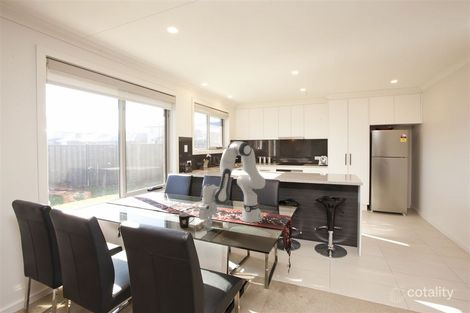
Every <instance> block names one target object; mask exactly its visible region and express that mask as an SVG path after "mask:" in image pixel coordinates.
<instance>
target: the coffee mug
mask: <svg viewBox="0 0 470 313" xmlns="http://www.w3.org/2000/svg"><path fill="white" fill-rule="evenodd" d="M190 218H193V219H192V220H191V221H190ZM194 220H195V216H194V215H191V214H190V213H188V212H181V213H179V214H178V222H179V227H180V229H189V225H190V223H192V222H193V221H194Z"/></svg>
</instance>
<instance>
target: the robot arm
mask: <svg viewBox="0 0 470 313" xmlns="http://www.w3.org/2000/svg"><path fill="white" fill-rule="evenodd" d="M237 156H241V161H242V170H243V171H244V173H246V174H240V175H239V176H238V177H237V178H236V184H237V186H239V187H240V189H241V190H242V193H243V197H244V198H243V200H244V201H243V208H242V209H241V210H242V211H241V213H242V214H241V217H240V219H241V220H242V221H243V222H244V223H250V224H251V223H252V224H253V222H254V223H261V222H262V220H263V219H262V218H264V215H262V211H261V209H260V208H259V205H260V203H259V202H258V194H257V193H256V192H255V191H253V189H255V190H261V189H264V188H265V186H266V179H265V178H264V177H263V175H261V174H260V173H259V171H258V168H257V161H256V155H255V150H254V149H253V148H252V146H251V144H249V143H248V142H245V141H241V140H240V141H238V140H233V141H230V142H229V144H228V146H227V147H226V148H224V150H223V152H222V155H221V157H220V163H219V171H220V175H221V177H220V178H221V179H220V183H219V186H217V185H215V184H213V183H206V184H204V185H203V188H202V198H203V199H202V202H201V203H200V205H199V206H198V218H199V220H201V221H204V219H205V220H206V223H208V222H209V220H208V218H209V219H213V216H214V215H215V214H217V213H218V206H217V203H218V204H221V205H222V204H223V205H224V204H225V203H227V202H228V200H229V192H228V191H229V185H230V180H231V176H232V172H233V170H234V166H235V163H236V158H237ZM260 221H261V222H260Z"/></svg>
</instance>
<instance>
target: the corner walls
mask: <svg viewBox="0 0 470 313" xmlns="http://www.w3.org/2000/svg"><path fill="white" fill-rule="evenodd" d="M203 223H204V220H201V221H200V222H199V223H197V224H195V225H193V231H194V232H197V231H199V230H200V229H203V227H202V224H203ZM213 227H216V228H221V229H222V228H223V227H224V223H223V222H222V221H217V220H213Z"/></svg>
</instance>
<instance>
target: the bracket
mask: <svg viewBox="0 0 470 313" xmlns="http://www.w3.org/2000/svg"><path fill="white" fill-rule="evenodd" d="M208 220H209V222H208V223H206V220H205V219H204V220H203V221H204V223H203V224H202V228H204V227H205V228H213V227H214V226H213V221H214V219H213V218H211V219H209V217H208Z"/></svg>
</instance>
